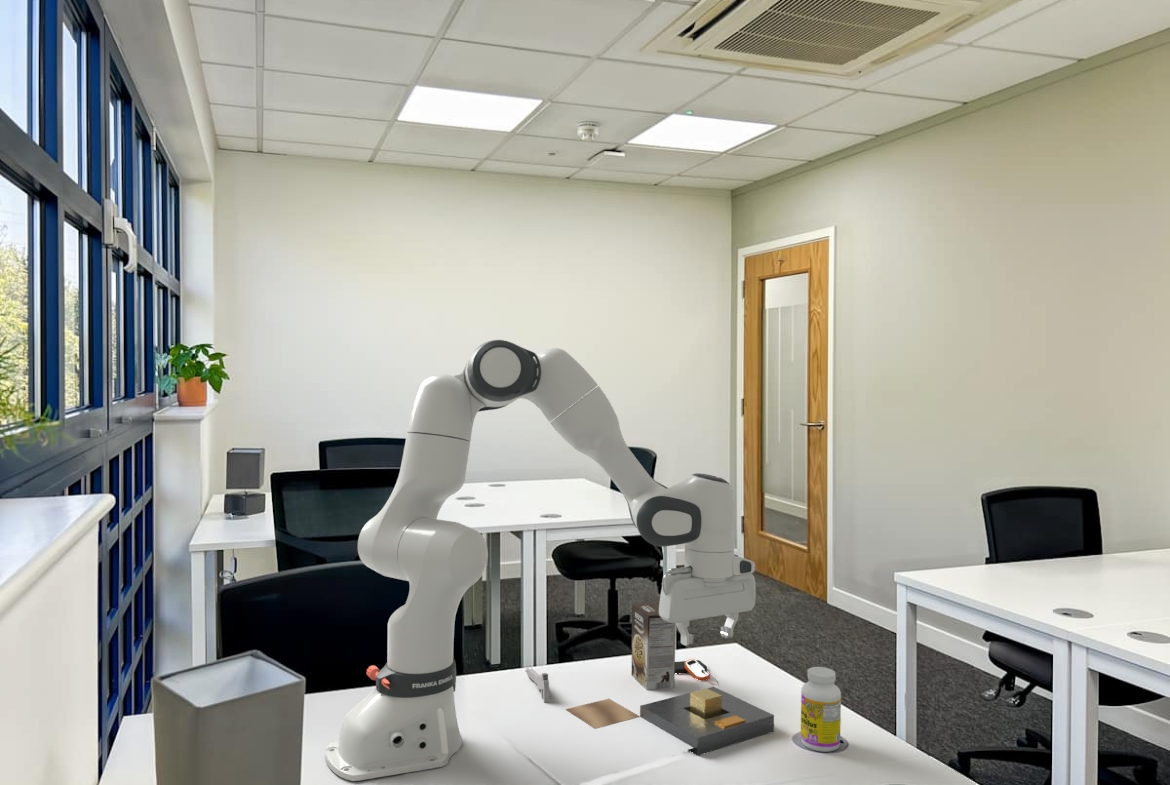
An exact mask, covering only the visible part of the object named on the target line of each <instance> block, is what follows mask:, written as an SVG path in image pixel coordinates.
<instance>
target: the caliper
mask: <svg viewBox="0 0 1170 785" xmlns="http://www.w3.org/2000/svg"><path fill="white" fill-rule="evenodd" d="M529 668H531V669H529ZM525 673H526V676H527V677H528V678H529V679H531V680H532V681H533V682H534V683H535V684H536V686H537V690H539V691H540V698H541V699H542V700H543V703H544V704H545V703H547V704H548V703H549V704H550V680H549V673H547V672H544V673H543V672H542V673H541V674H540V673H538V672H537V671H535V670H534V669H533V667H526V669H525Z"/></svg>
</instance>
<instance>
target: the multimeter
mask: <svg viewBox="0 0 1170 785" xmlns="http://www.w3.org/2000/svg"><path fill="white" fill-rule="evenodd" d="M675 673H677V674H676V675H680V674H679V673H686V674H690V676H692V678H693V679H695V678H696V679H698V680H697V681H699V680H705V681H708V683H709V684H711V685H713V683H712V682H711V681H710V680H709V679H710V678H711V677H712V679H714V680H715V681H716V682H717V684H718V683H719V681H718V680H717V679H716V678H715V677H714V676H713V675H711V673H710V672H709V671H708V667H707V665H705V664H704V663H703V662H702V661H701V660H698V659H695V658H690V659H688V660H682V661H675ZM696 679H695V680H696ZM706 679H708V680H706Z"/></svg>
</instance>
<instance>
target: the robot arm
mask: <svg viewBox="0 0 1170 785" xmlns="http://www.w3.org/2000/svg"><path fill="white" fill-rule="evenodd" d="M417 390H418V391H417V393H416V396H415V398H414V402H413V405H412V408H411V411H410V416H409V420H408V425H407V430H406V432H407V433H406V436H405V443H404V447H403V454H402V458H401V464H400V469H399V473H398V477H397V479H396V483H395V485H394V488H392V489H393V490H392V492H391V494H389V497H388V499H387V501H386V503H385V504H384V505H383V507H382V508H381V510H380V511H379V512H378V513H377V514H376V515H374V516H373V517H372V518H370V519H369V520H368V521H367V522H366V523H365V524H364V525H363V527H362V529H361V530H360V533H359V536H358V540H357V553H358V556H359V559H360V561H361V562H362V564H363V565H364V566H366V567H367V568H369V569H371V570H372V571H375V572H376V573H378V574H380V575H381V576H384V577H388V578H391V579H392V578H393V579H397V580H402V581H406V582H408V583H409V584H408V585H409V591H408V594H407V595H408V596H407V598H406V601H405V604H404V605H402V606H400V607H398V608H397V609H396V610H394V612H393V613H392V614H391V615H390V617H389V619H388V622H387V647H386V648H387V650H386V651H387V652H386V653H387V654H386V655H387V657H386V659H387V662H386V663H385V665H384V666H383V667H382V668H381V669H379V668H378V667H377V666H376V665H370V666H368V668H367V669H366V676H368V678H370V680H372V681H375V688H374V689H373V690H372V691H371V692H370V693H369V694H367V695H366V697H364V698H363V699H362V700H360V702H359V703H358V704H356V705H355V706H354V707H353V708H352V709H351V710H349V711H348V712H347V713H346V714H345V716H344V717H343V720H342V722H341V726H340V732H339V738H338V739H337V740H334V741H331V742H330V743H329V742H328V745H327V746H326V748H325V750H324V751H325V753H324V759H325V762H326V764H327V766H328V768H329V769H331V771H332V772H333V773H334V774H335V775H336V776H338V777H340V778H342V779H345V780H347V781H352V782H358V781H364V780H371V779H376V778H382V777H388V776H395V775H401V774H406V773H411V772H418V771H423V770H424V771H425V770H431V769H437V768H441V767H442V768H443V767H444V766H446V765H447V764H448V762H449V760H450V758H451V756H452V755H454V754H455V753H456V752H458V750H459V749H461V747H462V744H463V738H462V735H461V732H460V728H459V724H458V723H459V722H458V719H457V712H456V710H457V709H456V704H455V703H456V702H455V692H456V687H457V685H456V683H457V668H456V667H457V666H456V665H457V664H456V660H455V659H454V641H455V640H454V638H455V621H456V614H457V612H458V608H459V605H460V602H461V600H462V599H463V596H464V595H465V593H466V592H467V591H468V589H469V588H470V587H472V586H473V585H474V584H476V583H477V582H478V580H480V578H481V577H482V576H483V574H484V572H485V570H486V568H487V564H488V559H489V551H488V546H487V542H486V539H485V538H484V537H485V536H483V535H482V533H480V532H479V531H478V530H475V529H474V528H471V527H469V526H468V525H467V526H466V525H464V524H462V523H460V522H457V521H452V520H443V519H438V515H439V512H440V511H441V508H442V506H443V505H444V503H445V502H446V500H447V499H448V498H450V497H451V496H453V495H455V494H456V493H458V492H459V491H460V490H461V489H462V488H463V486H464V483H465V480H466V475H467V474H466V473H467V466H468V460H469V454H470V448H471V447H470V446H471V439H472V431H473V425H474V421H475V419H476V418H475V417H476V416H477V414H478V412H486V411H493V410H498V409H503V408H505V407H507V406H508V405H510V404H512V403H515V401H517V400H518V399H524V400H527V401H530V402H531V403H533V405H535V407H537V408H538V409H539V410H540V411H541V412H542V415H544V416H545V419H547V421H548V422H549V423H550V425H551V426H552V428H553V429H554V430H555V431H556V432H557V433H558V434H559V435H560V436H561V437H562V439H563V440H564V441H566V443H568V444H569V446H571V447H572V448H574V449H575V450H576V451H577V452H579V453H581V454H584V455H586V456H588V457H589V458H590V459H592V460H593V461H594V462H596V463H597V464H598V465H599V466H600V467H601V468H602V469H603V471H604V472H605V473H606V475H607V476H608V477H609V478H610V480H611V481H612V482H613V483H614V484H615V486H616V488H618V490H619V491H620V493H621V494H622V495H623V497H624V499H625V501H626V502H627V506H628V511H629V515H630V519H631V521H632V524H633V525H634V527H635V528H636V529H637V531H638V533H639V535H640V536H641V537H642V538H643V540H644V541H646V542H647V543H648V544H650V545H653V546H655V547H662V548H663V547H664V548H665V547H670V546H671V547H672V546H678V545H683V544H684V566H682V567H678V568H676V567H674V568H669V570H668V571H666V573H665V574H664V575H663V577H662V583H661V584H662V586H661V590H660V598H659V615H660V617H661V618H662V619H663V620H665V621H667V622H670V623H676V629H677V630H678V632H679V634H680V644H681V645H683V646H690V645H694V635H693V634H691V633H689V629H688V627H690V621H696V620H701V619H709V618H713V617H719V616H725V617H726V619H725V622H724V625H723V626H720V636H721V638H724V639H730V638H733V636H734V628H735V626H736V624H737V622H738V620H739V618H740V617H739V613H744V612H750V611H752V610H754V609H753V608H754V607H755V605H756V598H757V597H756V595H757V594H756V593H757V591H756V589H757V588H756V585H757V584H756V578H755V576H754V575H753V573H755V570H756V563H755V561H753V560H750V559H747V558H744V557H741V556H739V555H738V554H735V543H734V541H733V532H734V529H735V524H736V522H735V521H736V510H735V509H736V508H735V506H736V505H735V496H734V495H735V494H734V489H733V487H732V485H731V484H730V483H729V481H727V480H726V479H723V477H722V478H721V477H718V476H715V475H711V474H706V473H693V474H690V476H689V477H687V478H685V479H684V480H683V481H681V482H679V483H677V484H675V485H672V486H670V487H668V486H666V485H664V484H662V483H660V482H658V481H656V480H655V479H654V478H653V477H652V476H651V475H650V474H649V473H648V472H647V470H646V469H645V468H644V466H643V465H642V464H641V463H640V461H639V460H638V459H637V458H636V456H635V454H634V453H633V452H632V451H631V449H630V448H629V447H628V445H627V443H626V441H625V439H624V437H623V434H622V431H621V428H620V422H619V418H618V416H617V413H616V412H615V410H614V408H613V406H612V404H611V402H610V400H609V399H608V397H607V396H606V394H605V393H604V391H603V390H602V388H601V387H600V386H599V384H598V383H597V382H596V380H595V379H594V378H593V377H592V376H591V375H590V373H588V371H587V370H586V369H585V368H584V367H583V366H582V365H581V364H580V363H579V362H578V361H577V360H576V359H575V358H574V357H573V356H571V355H570V354H569V352H567V351H566V350H564V349H561V348H557V347H556V348H555V347H552V348H547V349H544V350H543V351H540V352H539V353H537V354H536V353H535V352H534V351H532V350H529V349H526V348H525V347H522V346H520V345H518V344H516V343H513V342H510V341H508V340H504V339H494V340H489V341H486V342H483V343H482V344H480V345H478V347H476V348H475V350H474V351H473V352H472V354H471V355H470V357H469V359H468V361H467V363H466V364H465V367H464V368H463V370H462V371H461V372H460V373H457V374H453V375H451V374H447V373H446V374H435V375H432V376H428V377H427V378H426V379H424V380H423V381H422V382H421V383H420V385H419V388H418V389H417Z"/></svg>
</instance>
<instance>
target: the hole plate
mask: <svg viewBox="0 0 1170 785" xmlns="http://www.w3.org/2000/svg"><path fill="white" fill-rule="evenodd" d="M707 689H709V690H711V691H713V692H716V693H718V694H720V695H722V710H721V715H720V716H716V717H713V718H709V719H706V720H704V719H703V718H701V717H699V716H697V715H695V714H693V713H691V712H690V693H691V692H688V693H684V694H680V695H676V696H673V697H672V696H671V697H669V698H668V697H667V698H665V699H660V700H658V701H652V702H650V703H649V702H648V703H646V704H641V705H640V706H639V716H640V717H639V718H641V719H643V720H645V721H647V722H648V723H650V724H652V725H654V726H655V727H657V728H658V729H660V730H662V731H663V732H666V733H667V734H668V735H670V736H673V737H674V738H675V739H677V740H680V741H681V742H683V743H685V744H686V745H688V746H690V748H688V749H687V751H689V752H690V751H691V753H692V752H693V753H692V754H693V755H695V754H696V755H695V756H697V755H698V756H700V755H701V754H702V755H705V754H707V752H708V753H710V752H714V751H716V750H717V751H718V750H721V749H723V748H726V747H730V746H732V745H736V744H739V743H743V742H746V741H748V740H752V739H755V738H758V737H762V736H764V735H768V734H770V733H774V732H775V731H774V730H775V714H773V713H770V712H768V711H766V710H764V709H762V708H760V707H757V706H756V705H753V704H751V703H749V702H748V701H745V700H743V699H741V698H740V697H739V698H738V697H736V696H735V695H732V694H730V693H729V692H726V691H724V690H722V689H719V688H718V687H715V686H711V687H707ZM691 747H692V748H691ZM720 748H721V749H720ZM704 753H705V754H704ZM702 755H701V756H702Z"/></svg>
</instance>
